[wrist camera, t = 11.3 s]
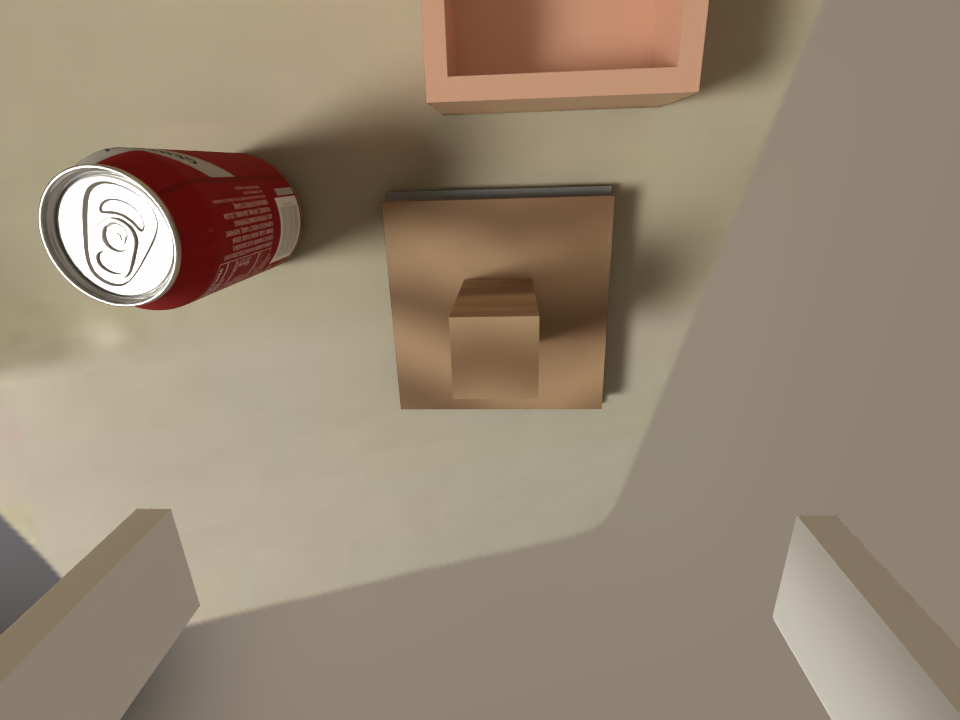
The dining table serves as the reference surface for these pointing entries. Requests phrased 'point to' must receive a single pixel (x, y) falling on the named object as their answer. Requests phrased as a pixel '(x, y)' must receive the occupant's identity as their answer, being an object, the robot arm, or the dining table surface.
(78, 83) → the dining table surface
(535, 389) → the lid
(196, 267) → the soda can
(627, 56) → the pink open box
